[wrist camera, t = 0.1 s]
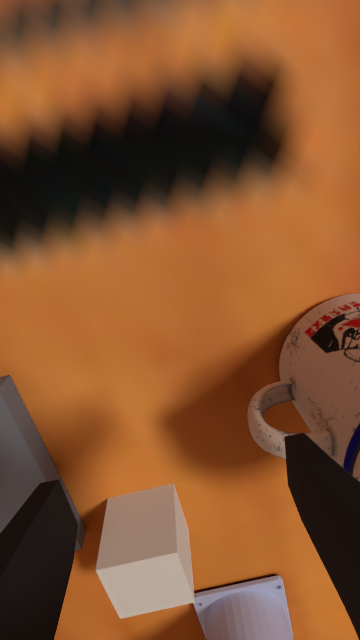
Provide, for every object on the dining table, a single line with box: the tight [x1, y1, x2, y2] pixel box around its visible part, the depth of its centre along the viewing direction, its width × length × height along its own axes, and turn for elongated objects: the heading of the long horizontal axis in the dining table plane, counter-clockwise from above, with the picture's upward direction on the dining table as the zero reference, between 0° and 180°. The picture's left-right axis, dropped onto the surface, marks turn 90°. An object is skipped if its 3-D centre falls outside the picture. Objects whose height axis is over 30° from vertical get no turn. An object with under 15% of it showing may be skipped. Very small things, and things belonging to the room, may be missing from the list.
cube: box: [95, 483, 195, 619], centre depth 22 cm, size 5×5×5 cm
